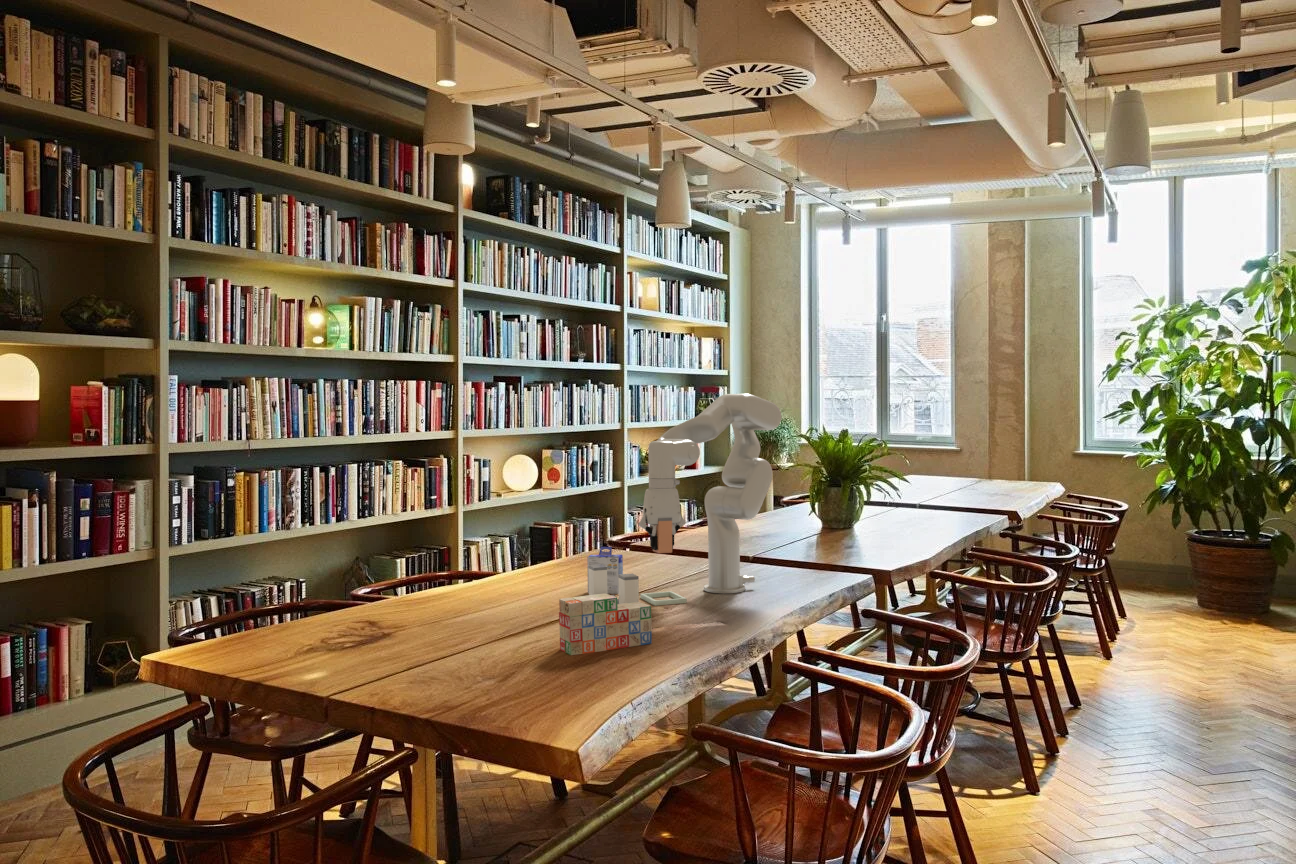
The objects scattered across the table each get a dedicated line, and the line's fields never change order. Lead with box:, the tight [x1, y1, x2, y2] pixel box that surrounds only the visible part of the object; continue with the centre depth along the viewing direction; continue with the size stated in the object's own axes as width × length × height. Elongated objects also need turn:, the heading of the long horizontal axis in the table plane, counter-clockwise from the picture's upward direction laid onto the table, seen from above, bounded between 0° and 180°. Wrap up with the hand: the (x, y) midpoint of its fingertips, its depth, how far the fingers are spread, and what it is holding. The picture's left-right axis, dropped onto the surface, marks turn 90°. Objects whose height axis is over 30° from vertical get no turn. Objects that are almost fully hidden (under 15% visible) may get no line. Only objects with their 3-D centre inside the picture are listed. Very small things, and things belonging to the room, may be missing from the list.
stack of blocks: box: [558, 593, 653, 656], centre depth 239 cm, size 21×6×12 cm, turn 118°
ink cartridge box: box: [586, 546, 624, 595], centre depth 301 cm, size 10×6×14 cm, turn 78°
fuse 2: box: [618, 573, 640, 604], centre depth 274 cm, size 4×5×10 cm
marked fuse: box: [652, 518, 673, 554], centre depth 286 cm, size 4×5×10 cm
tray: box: [639, 590, 688, 606], centre depth 287 cm, size 10×12×2 cm
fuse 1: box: [588, 564, 607, 595], centre depth 289 cm, size 4×5×10 cm
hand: (662, 548), depth 286 cm, fingers closed on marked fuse, 4 cm apart
